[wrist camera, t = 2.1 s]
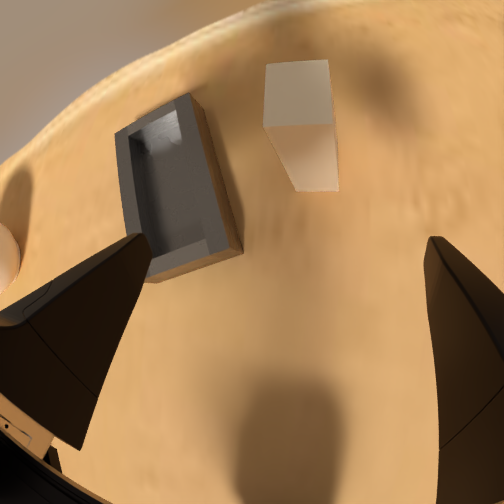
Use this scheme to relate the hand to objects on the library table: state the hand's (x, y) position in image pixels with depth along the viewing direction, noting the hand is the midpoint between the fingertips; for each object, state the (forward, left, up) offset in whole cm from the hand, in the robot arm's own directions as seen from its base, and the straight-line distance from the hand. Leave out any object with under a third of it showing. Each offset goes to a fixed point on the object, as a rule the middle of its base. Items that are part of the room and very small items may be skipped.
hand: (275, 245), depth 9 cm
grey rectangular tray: (+13, 0, -13) cm, 19 cm away
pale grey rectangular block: (+4, -7, -13) cm, 16 cm away
